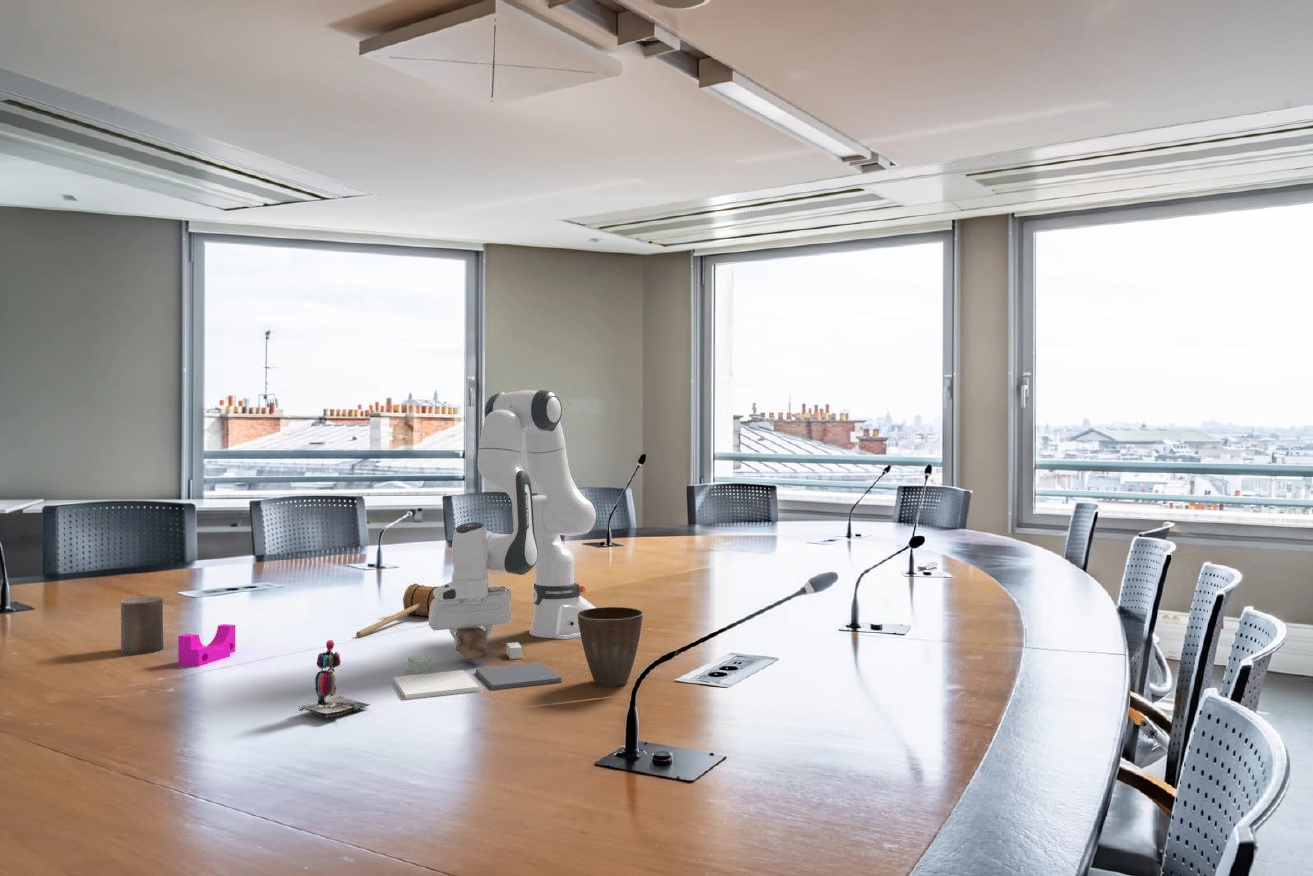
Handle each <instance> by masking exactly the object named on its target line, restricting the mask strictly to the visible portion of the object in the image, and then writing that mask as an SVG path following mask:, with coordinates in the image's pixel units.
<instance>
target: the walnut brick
mask: <svg viewBox="0 0 1313 876" xmlns="http://www.w3.org/2000/svg"><path fill="white" fill-rule="evenodd" d="M454 633H455V632H454ZM455 635H456V636H457V638H460V639H461V641H462V642H461V644H462V645H461V646H456V647H455V651H456V652H457V653H458V654H460V655H461V656H462V657H464V658H465V659H466V660H468V659H476V658H483V657H487V656H488V654H487V653H488V652H487V651H488V650H487V649H488V647H487V645H488V636H487V632H486V631H485V630H484V629H483V628H481V626H476V627H466V628H457V633H455Z"/></svg>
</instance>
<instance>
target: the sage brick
mask: <svg viewBox="0 0 1313 876" xmlns="http://www.w3.org/2000/svg"><path fill="white" fill-rule="evenodd" d="M407 670H409V671H410V672H413V673H414V674H415V675H419V674H429V673H430V660H429V659H427V658H425V657H423V656H421V655H415V656H408V657H407Z"/></svg>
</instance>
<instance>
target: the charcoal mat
mask: <svg viewBox="0 0 1313 876" xmlns="http://www.w3.org/2000/svg"><path fill="white" fill-rule="evenodd" d="M475 674H476V675H477V676H478V677H479V678H480V679H481V680H482V681H483V682H484V683H486V685H487V686H488V687H489V688H491V690H493V691H494V690H502V689H510V688H511V689H512V688H519V687H529V686H537V685H538V686H539V685H546V684H547V685H548V684H557V683H558V684H559V683H562V676H560V675H559V674H557V673H556V672H554V670H552V669H550V668H549V667H548V666H546V665H545V664H544V663H542V662H540V661H539V662H531V663H529V662H528V663H519V664H509V665H500V666H491V667H489V666H488V667H480V668H475Z"/></svg>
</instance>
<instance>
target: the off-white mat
mask: <svg viewBox="0 0 1313 876" xmlns="http://www.w3.org/2000/svg"><path fill="white" fill-rule="evenodd" d="M393 683H394V684H395V686H396V688H398V690H399V692H400V693H401V695H402V696H403V698H404V699H405V700H411V699H422V698H429V697H439V696H447V695H448V696H449V695H457V694H466V693H474V692H475V693H477V692H480V686H479V685H478V684H477V682H476V681H474V679H472V677H470V675H469V674H468V673H467V672H466V671H465V670H463V669H461V670H451V671H450V670H449V671H442V672H431V673H430V672H428V673H421V674H412V675H401V676H394V677H393Z"/></svg>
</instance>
